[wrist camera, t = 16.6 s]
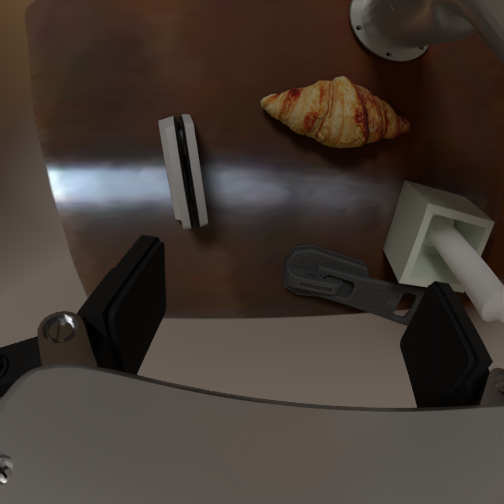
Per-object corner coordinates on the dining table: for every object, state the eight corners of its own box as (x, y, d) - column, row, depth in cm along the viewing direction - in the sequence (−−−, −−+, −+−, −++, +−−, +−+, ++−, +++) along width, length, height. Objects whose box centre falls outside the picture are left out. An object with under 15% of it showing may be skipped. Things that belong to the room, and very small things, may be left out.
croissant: (262, 119, 47) (256, 151, 43) (263, 62, 38) (256, 87, 34) (395, 137, 45) (405, 171, 41) (412, 85, 37) (428, 114, 32)
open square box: (404, 180, 45) (428, 203, 37) (465, 197, 45) (494, 222, 36) (382, 249, 51) (398, 283, 43) (441, 260, 51) (463, 292, 42)
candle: (453, 238, 48) (526, 337, 26) (418, 249, 50) (479, 357, 28) (450, 201, 45) (537, 291, 23) (413, 212, 46) (487, 312, 25)
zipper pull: (412, 330, 51) (277, 307, 51) (403, 307, 57) (278, 283, 57) (434, 290, 47) (291, 260, 47) (422, 269, 53) (290, 239, 53)
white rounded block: (158, 118, 45) (155, 122, 36) (189, 112, 45) (193, 115, 37) (175, 217, 53) (177, 243, 44) (203, 212, 53) (211, 237, 45)
